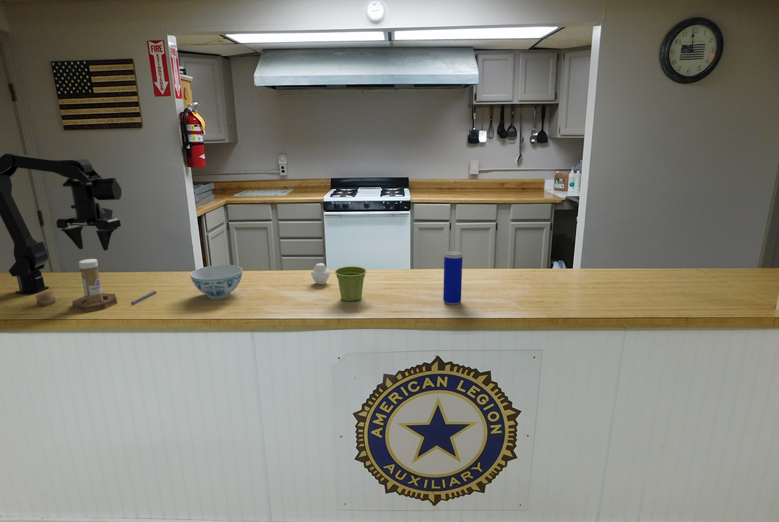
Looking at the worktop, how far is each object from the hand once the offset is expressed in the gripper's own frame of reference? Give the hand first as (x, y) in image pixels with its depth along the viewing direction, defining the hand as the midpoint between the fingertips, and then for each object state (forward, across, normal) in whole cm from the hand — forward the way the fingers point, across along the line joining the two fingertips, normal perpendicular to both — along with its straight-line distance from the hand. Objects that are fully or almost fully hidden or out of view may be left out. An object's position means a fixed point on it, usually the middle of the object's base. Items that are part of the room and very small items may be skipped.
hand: (93, 249), depth 151 cm
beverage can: (+13, -113, -8) cm, 114 cm away
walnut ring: (+13, -10, +13) cm, 21 cm away
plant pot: (+13, -83, -6) cm, 84 cm away
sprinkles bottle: (+13, -10, +13) cm, 21 cm away
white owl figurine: (+13, -69, -18) cm, 72 cm away
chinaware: (+13, -42, -1) cm, 44 cm away
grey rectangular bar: (+13, -21, +6) cm, 25 cm away
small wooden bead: (+13, +5, +15) cm, 21 cm away
